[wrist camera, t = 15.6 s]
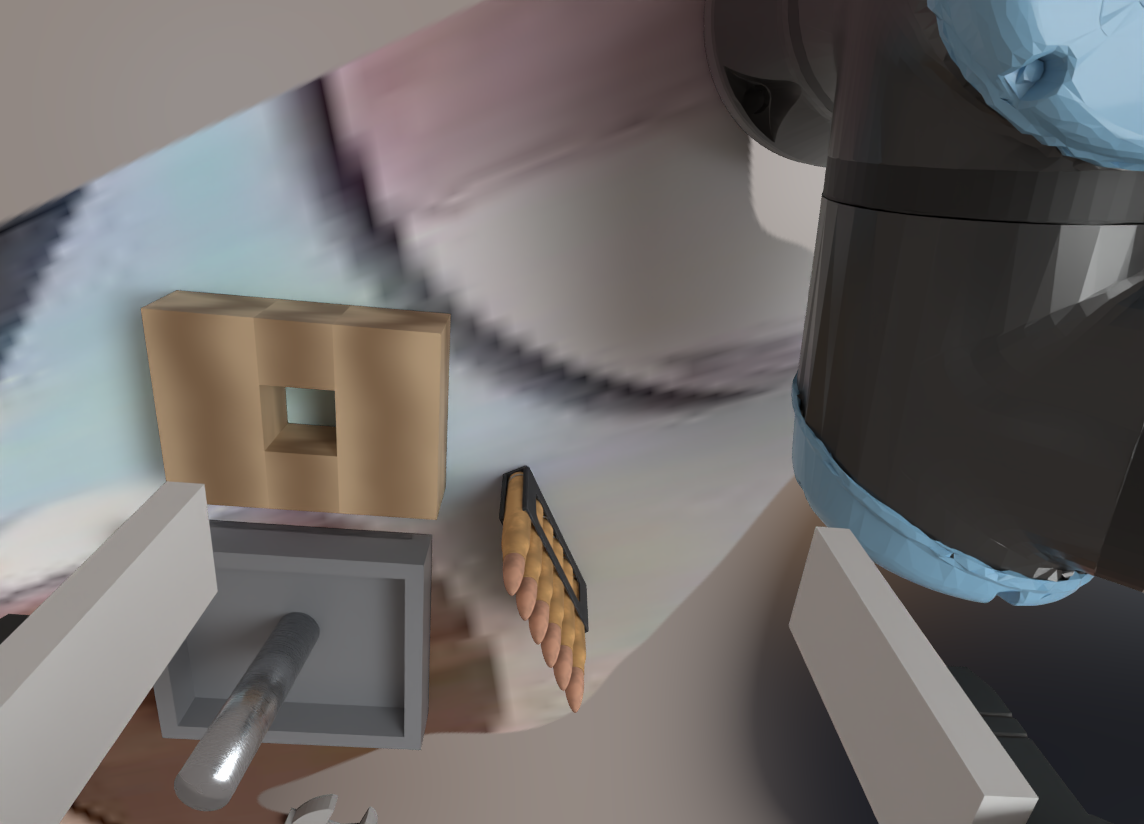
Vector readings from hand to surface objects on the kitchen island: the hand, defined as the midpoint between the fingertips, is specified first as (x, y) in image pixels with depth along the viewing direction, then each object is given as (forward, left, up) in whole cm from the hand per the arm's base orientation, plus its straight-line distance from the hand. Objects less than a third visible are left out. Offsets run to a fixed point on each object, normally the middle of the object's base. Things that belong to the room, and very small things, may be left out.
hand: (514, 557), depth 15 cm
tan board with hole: (+13, +9, -29) cm, 33 cm away
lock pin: (+15, +27, -28) cm, 41 cm away
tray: (+15, +27, -29) cm, 42 cm away
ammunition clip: (-2, +18, -29) cm, 34 cm away
